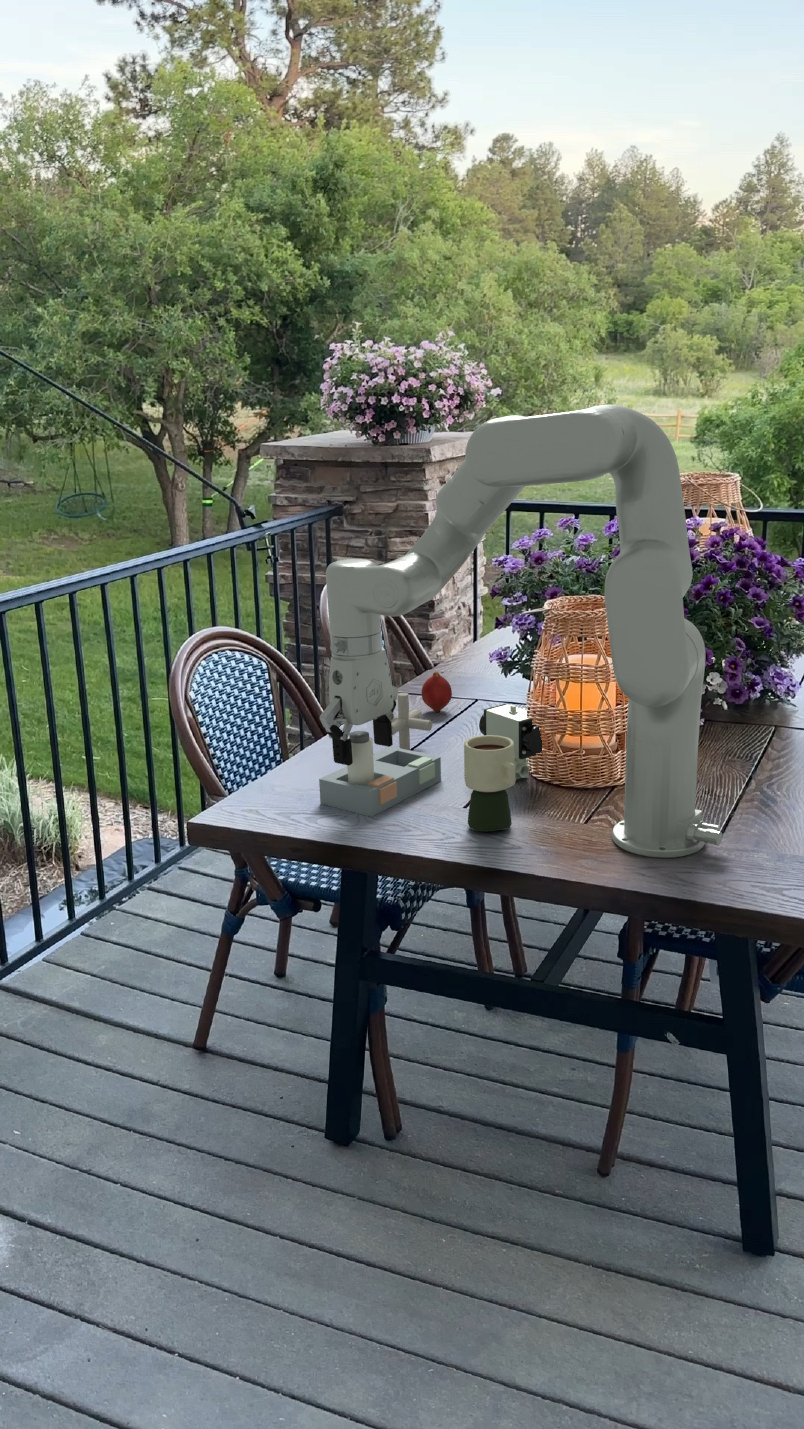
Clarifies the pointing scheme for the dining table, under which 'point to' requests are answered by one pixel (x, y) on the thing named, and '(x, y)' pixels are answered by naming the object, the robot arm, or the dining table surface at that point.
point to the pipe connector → (407, 721)
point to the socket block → (382, 782)
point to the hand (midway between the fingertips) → (363, 754)
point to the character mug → (489, 781)
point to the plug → (361, 759)
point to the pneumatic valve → (513, 733)
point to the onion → (436, 692)
